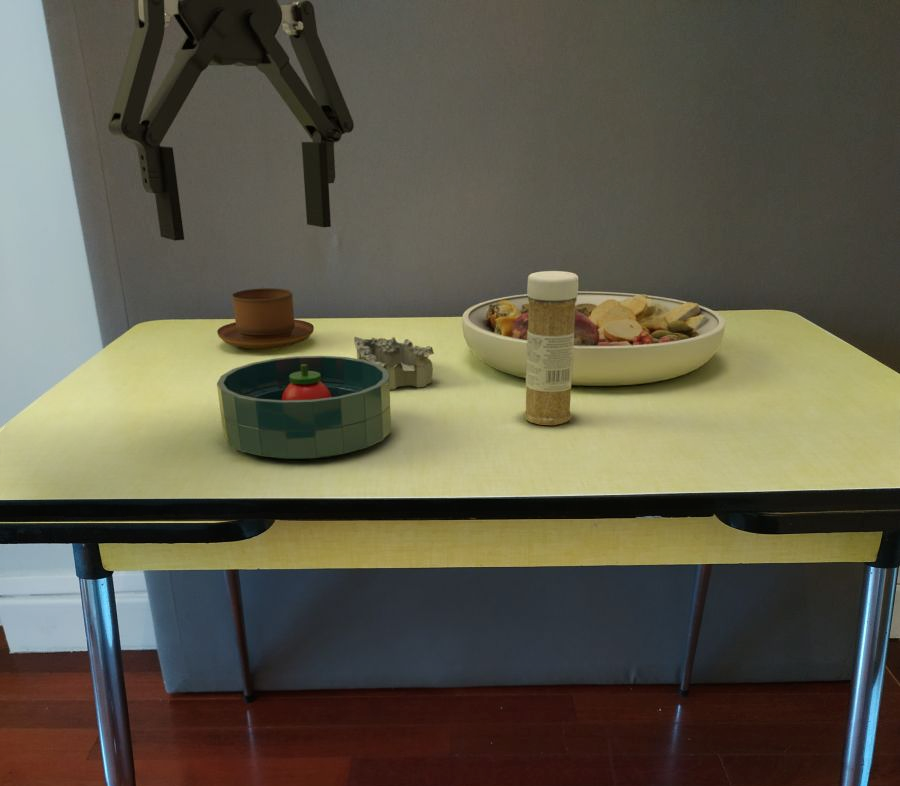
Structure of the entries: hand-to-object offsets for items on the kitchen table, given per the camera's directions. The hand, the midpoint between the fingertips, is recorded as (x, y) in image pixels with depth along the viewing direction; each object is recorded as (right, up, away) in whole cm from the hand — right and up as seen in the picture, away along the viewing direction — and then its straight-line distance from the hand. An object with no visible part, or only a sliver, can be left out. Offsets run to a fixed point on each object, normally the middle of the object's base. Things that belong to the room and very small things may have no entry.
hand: (249, 232), depth 76 cm
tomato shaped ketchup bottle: (+4, -15, +8) cm, 17 cm away
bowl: (+33, -2, +32) cm, 46 cm away
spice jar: (+26, -13, +12) cm, 32 cm away
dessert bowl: (+4, -16, +8) cm, 18 cm away
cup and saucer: (-6, +2, +40) cm, 40 cm away
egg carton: (+10, -6, +26) cm, 28 cm away
